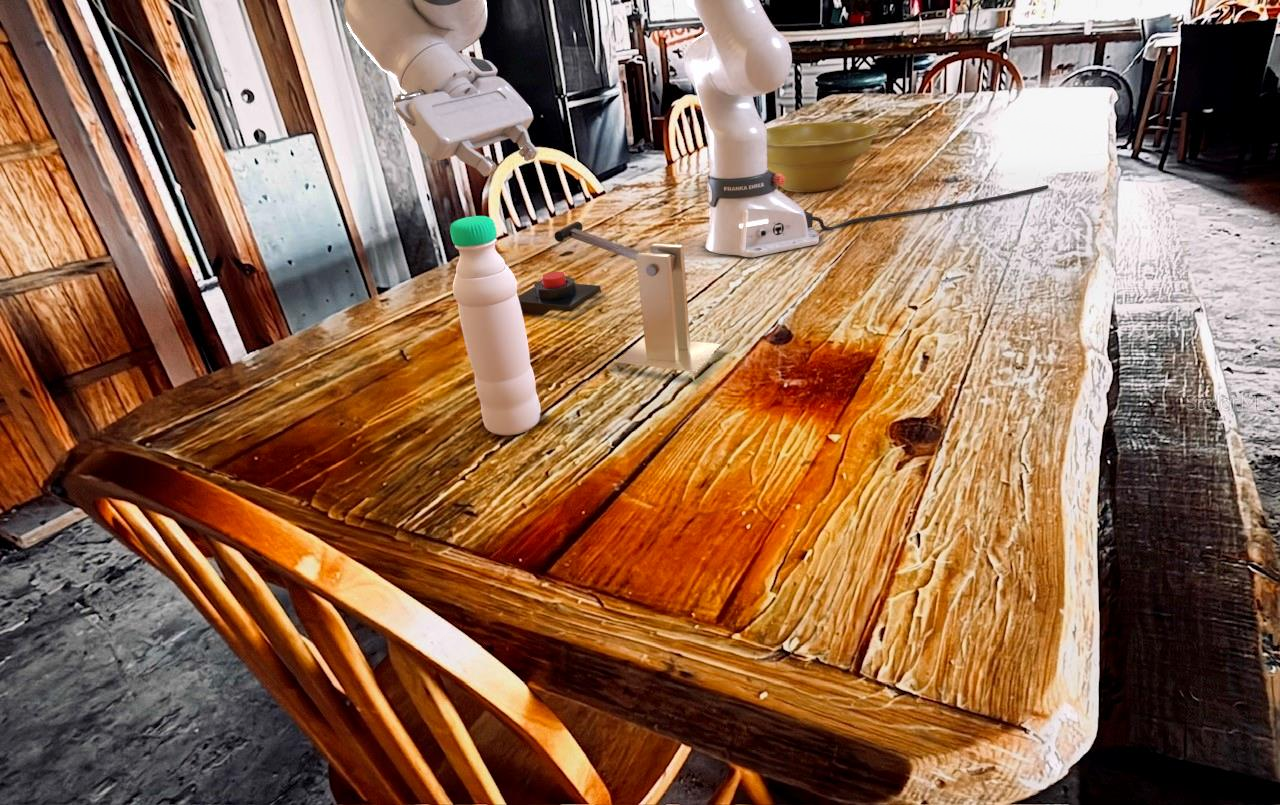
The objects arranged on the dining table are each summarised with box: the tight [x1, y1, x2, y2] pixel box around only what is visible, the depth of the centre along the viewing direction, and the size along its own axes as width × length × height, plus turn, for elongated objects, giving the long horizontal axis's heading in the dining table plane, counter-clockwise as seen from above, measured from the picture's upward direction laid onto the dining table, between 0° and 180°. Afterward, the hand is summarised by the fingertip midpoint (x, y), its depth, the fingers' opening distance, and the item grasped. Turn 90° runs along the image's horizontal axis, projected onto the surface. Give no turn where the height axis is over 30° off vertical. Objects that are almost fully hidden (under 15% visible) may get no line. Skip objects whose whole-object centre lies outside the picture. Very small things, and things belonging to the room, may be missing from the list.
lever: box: [553, 221, 676, 273], centre depth 93 cm, size 16×5×2 cm, turn 63°
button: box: [541, 271, 566, 288], centre depth 120 cm, size 4×4×2 cm
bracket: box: [615, 243, 722, 373], centre depth 94 cm, size 12×9×16 cm
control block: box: [518, 276, 602, 316], centre depth 121 cm, size 12×10×4 cm
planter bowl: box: [766, 121, 880, 193], centre depth 179 cm, size 32×32×13 cm
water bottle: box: [449, 215, 542, 436], centre depth 80 cm, size 7×7×25 cm
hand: (513, 164), depth 95 cm, fingers open, 8 cm apart
